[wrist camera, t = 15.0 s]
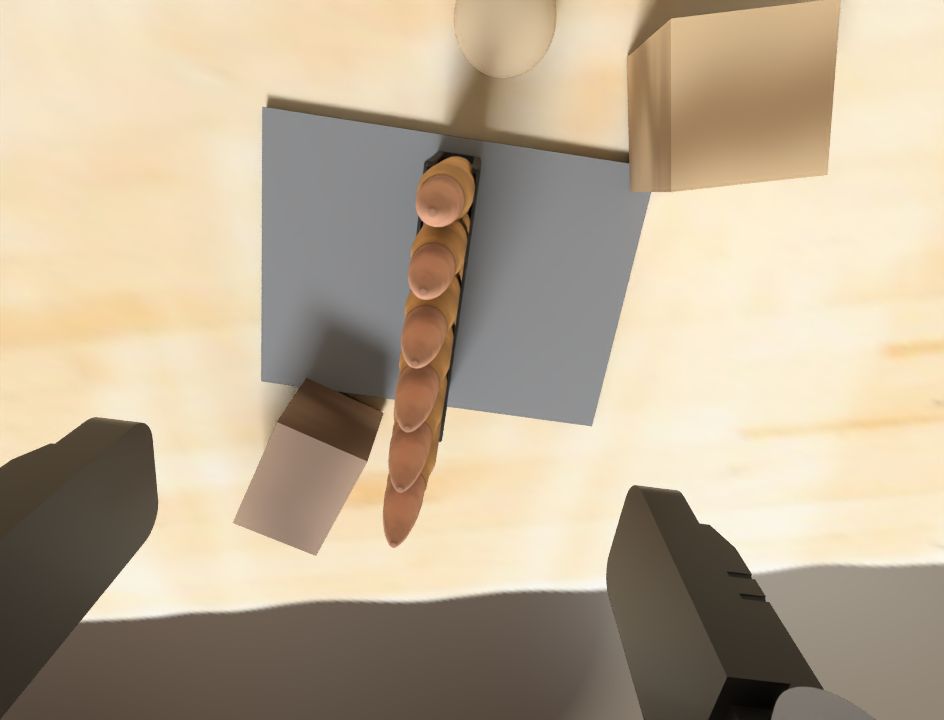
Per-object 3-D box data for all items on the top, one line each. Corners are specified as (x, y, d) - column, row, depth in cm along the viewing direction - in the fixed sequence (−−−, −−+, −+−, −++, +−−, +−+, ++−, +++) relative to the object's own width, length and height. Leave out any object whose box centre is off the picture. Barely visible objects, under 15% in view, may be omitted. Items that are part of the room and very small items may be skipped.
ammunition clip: (436, 149, 22) (392, 157, 11) (482, 157, 23) (482, 171, 11) (409, 388, 26) (356, 569, 15) (448, 393, 26) (423, 577, 15)
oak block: (626, 57, 21) (670, 18, 17) (757, 41, 21) (840, -3, 16) (629, 191, 23) (671, 191, 18) (752, 178, 23) (827, 174, 18)
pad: (266, 107, 22) (262, 106, 22) (654, 167, 23) (657, 167, 23) (264, 377, 27) (261, 381, 26) (590, 422, 27) (591, 426, 27)
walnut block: (265, 469, 28) (232, 522, 25) (306, 377, 26) (277, 422, 23) (337, 499, 29) (316, 555, 26) (383, 412, 27) (367, 461, 23)
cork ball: (462, -33, 20) (459, -67, 17) (558, -17, 21) (573, -48, 17) (450, 75, 22) (444, 62, 18) (540, 89, 22) (551, 80, 19)
